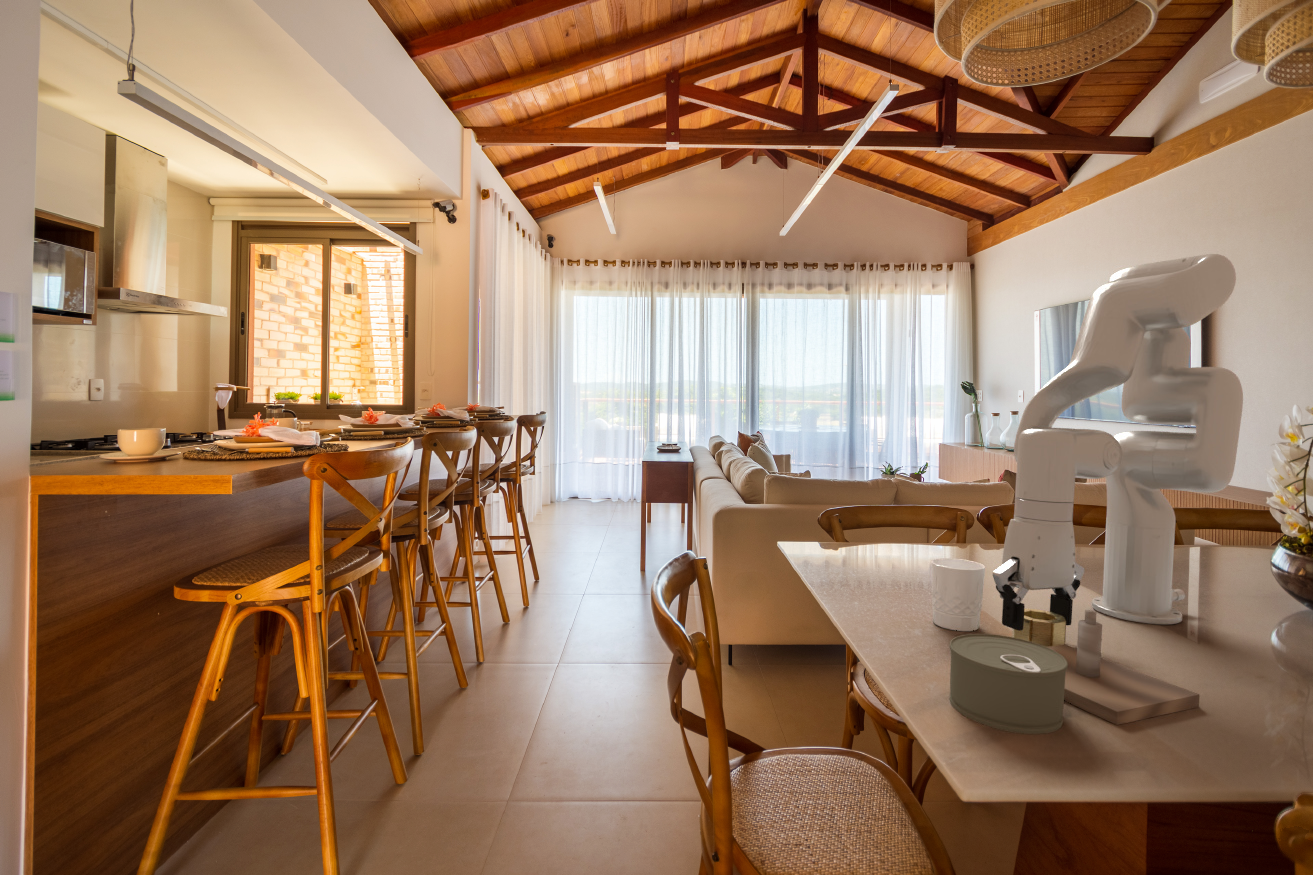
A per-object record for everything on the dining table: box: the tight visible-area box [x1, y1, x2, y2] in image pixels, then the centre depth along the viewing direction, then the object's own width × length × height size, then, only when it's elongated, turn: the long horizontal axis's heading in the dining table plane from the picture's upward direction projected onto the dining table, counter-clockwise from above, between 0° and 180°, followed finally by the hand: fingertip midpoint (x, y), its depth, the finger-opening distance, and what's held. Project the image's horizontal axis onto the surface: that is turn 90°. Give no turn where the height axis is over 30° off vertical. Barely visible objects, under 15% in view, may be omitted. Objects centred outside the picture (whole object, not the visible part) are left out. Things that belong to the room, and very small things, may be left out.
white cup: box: [930, 557, 986, 632], centre depth 104 cm, size 8×8×10 cm
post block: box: [1047, 609, 1201, 726], centre depth 82 cm, size 14×17×10 cm
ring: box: [1012, 608, 1067, 647], centre depth 97 cm, size 7×7×4 cm
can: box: [948, 633, 1068, 735], centre depth 75 cm, size 12×12×7 cm
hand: (1036, 625), depth 97 cm, fingers open, 9 cm apart
